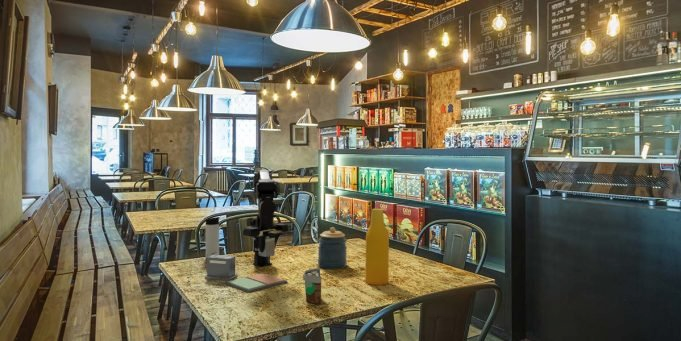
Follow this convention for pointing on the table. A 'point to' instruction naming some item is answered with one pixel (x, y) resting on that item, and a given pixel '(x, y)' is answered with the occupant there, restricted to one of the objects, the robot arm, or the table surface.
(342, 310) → the table surface
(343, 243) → the canister
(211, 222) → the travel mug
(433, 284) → the table surface
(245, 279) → the sorting board
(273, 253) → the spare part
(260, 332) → the table surface
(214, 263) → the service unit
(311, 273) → the food container
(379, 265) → the beer bottle
